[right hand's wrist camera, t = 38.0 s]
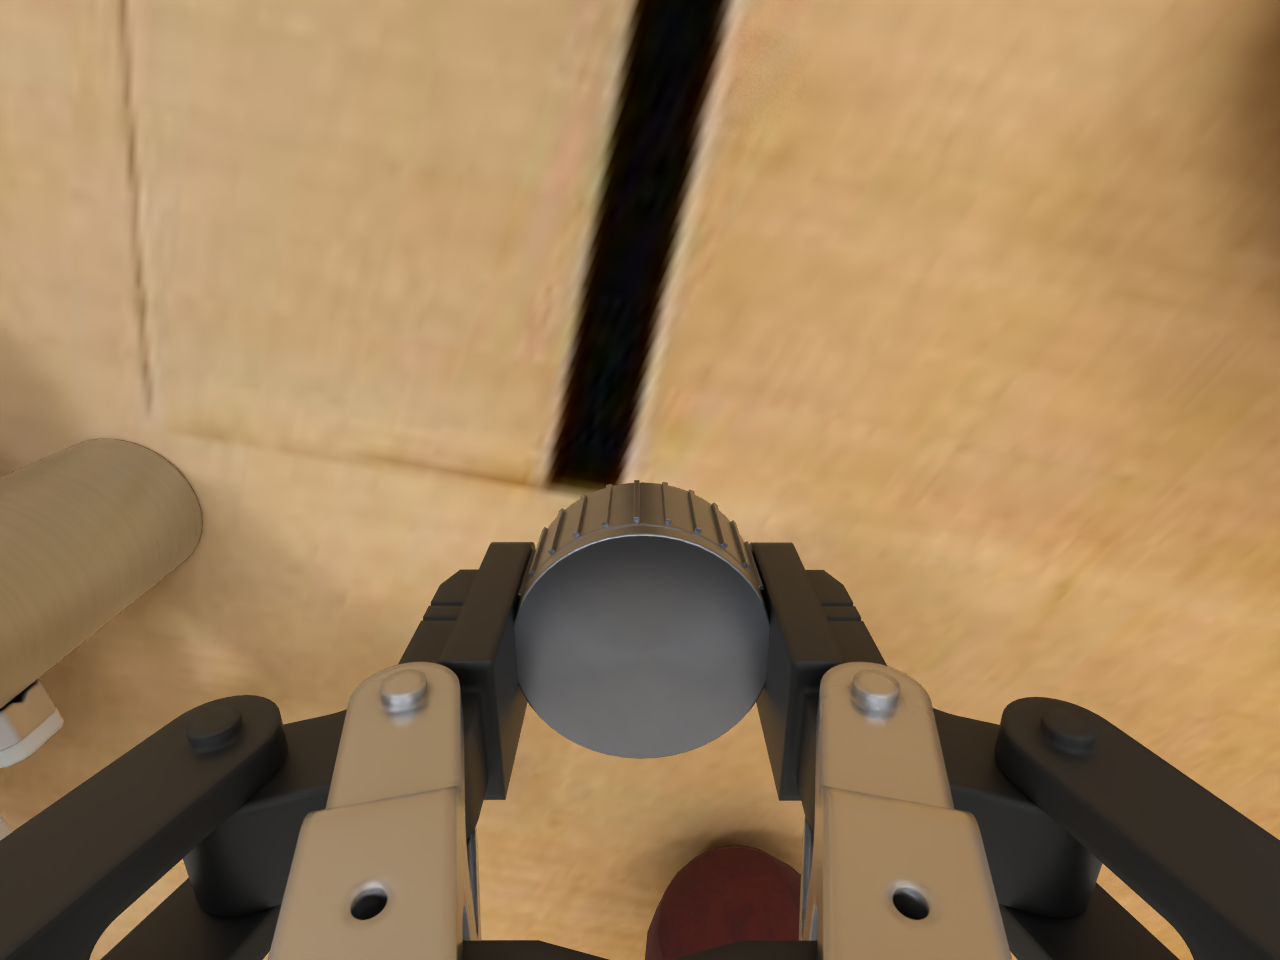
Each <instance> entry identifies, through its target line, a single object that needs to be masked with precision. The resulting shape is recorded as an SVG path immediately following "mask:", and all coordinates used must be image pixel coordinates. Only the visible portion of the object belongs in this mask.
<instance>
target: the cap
mask: <svg viewBox="0 0 1280 960" xmlns="http://www.w3.org/2000/svg"><path fill="white" fill-rule="evenodd" d="M762 590H764V587H763V584H762V581H761V578H760V575H759V572H758V570H757V567H756V564H755V561H754V558H753V555H752V552H751V549H750V546H749V544H748V542H743V539H742V537H741V536H740V534H739V531H738V528H737V525H736V523H735V522H734V521H731V522H730V521H729V520H728V519H727V517H726V516H725V515H724V514H722V513H721V512H720V511H719V510H718V506H717V505H716V504H715V503H713V504H712V505H711V504H710V503H708V502H707V501H705V500H704V499H702V498H700V497H698V496H696V495H695V494H694V491H692V490H689V492H688V491H685V490H682V489H680V488H676V487H672V486H668V483H666V482H662V484H654V483H643V482H642V483H639V480H635V481H634V483H628V484H622V485H616V486H612V485H611V484H609V485H607V486H606V488H605V489H601V490H598V491H596V492H594V493H591V494H589V495H587V496H586V494H583V495H581V498H580V500H578V501H577V502H575V503H573V504H572V505H571V506H569V507H568V508H567V509H566V510H564V509H563V508H562V509H561V510H560V511H559V513H558V517H557V518H556V519H555V520H554V521H553V522H552V523H551V525H550V526H549V527H548V529H547V528H545V527H544V529H543V530H542V533H541V536H540V539H539V542H538V545H537V549H536V550H534V549H533V550H532V553H531V556H530V559H529V562H528V565H527V568H526V571H525V574H524V577H523V580H522V583H521V586H520V589H519V592H518V599H520V601H519V604H518V608H517V611H516V614H515V617H514V631H515V645H516V658H517V672H518V684H519V687H520V689H521V691H522V693H523V695H524V696H525V698H526V700H527V701H528V703H529V704H530V706H531V707H532V708H533V709H534V711H535V712H536V713H537V714H538V715H539V717H540V718H541V719H542V720H544V721H545V722H546V723H547V724H548V725H549V726H550V727H551V728H553V729H554V730H555V731H557V732H558V733H560V734H561V735H562V736H564V737H565V738H567V739H569V740H571V741H573V742H575V743H576V744H578V745H581V746H583V747H586V748H588V749H591V750H593V751H597V752H600V753H604V754H607V755H613V756H618V757H625V758H658V757H665V756H672V755H676V754H680V753H684V752H687V751H690V750H693V749H695V748H698V747H701V746H703V745H705V744H707V743H709V742H711V741H713V740H715V739H717V738H718V737H720V736H721V735H723V734H724V733H726V732H727V731H729V730H730V729H731V728H732V727H733V726H735V725H736V724H737V723H738V722H739V721H740V720H741V719H742V718H743V717H744V716H745V715H746V714H747V713H748V712H749V710H750V709H751V708H752V707H753V705H754V704H755V702H756V701H757V699H758V698H759V696H760V694H761V692H762V690H763V688H764V686H765V683H766V671H767V658H768V644H769V631H770V618H769V614H768V611H767V608H766V605H765V602H764V599H763V596H762V593H761V591H762Z"/></svg>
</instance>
